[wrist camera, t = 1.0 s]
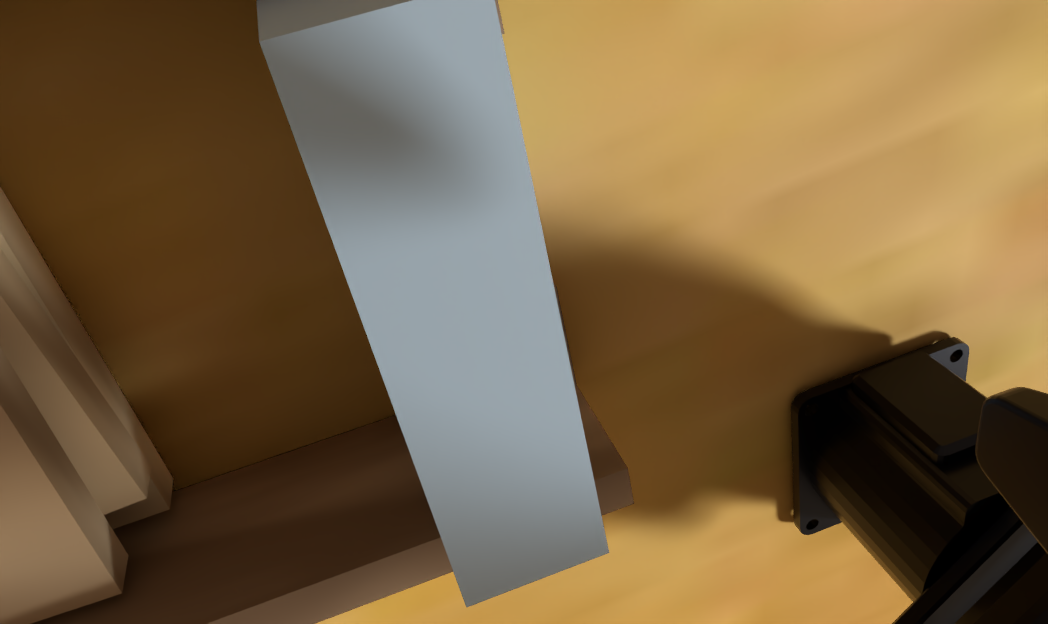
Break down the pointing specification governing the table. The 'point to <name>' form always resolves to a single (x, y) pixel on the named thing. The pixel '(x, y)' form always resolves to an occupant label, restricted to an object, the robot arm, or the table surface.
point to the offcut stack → (61, 448)
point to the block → (445, 269)
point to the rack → (302, 533)
